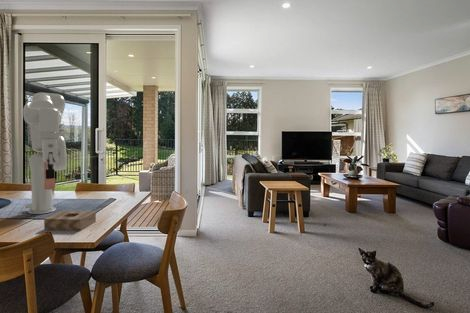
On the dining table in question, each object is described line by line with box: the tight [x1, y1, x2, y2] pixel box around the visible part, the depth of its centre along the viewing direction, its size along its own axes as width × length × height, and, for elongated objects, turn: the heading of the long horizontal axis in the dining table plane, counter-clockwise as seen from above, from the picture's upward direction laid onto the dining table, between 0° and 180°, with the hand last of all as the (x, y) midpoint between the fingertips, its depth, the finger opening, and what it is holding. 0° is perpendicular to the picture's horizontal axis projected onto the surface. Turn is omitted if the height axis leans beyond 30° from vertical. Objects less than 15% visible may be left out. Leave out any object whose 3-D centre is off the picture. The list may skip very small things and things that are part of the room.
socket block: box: [43, 210, 96, 232], centre depth 135 cm, size 16×14×5 cm
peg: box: [44, 159, 56, 190], centre depth 128 cm, size 4×4×14 cm
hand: (49, 177), depth 128 cm, fingers closed on peg, 4 cm apart
